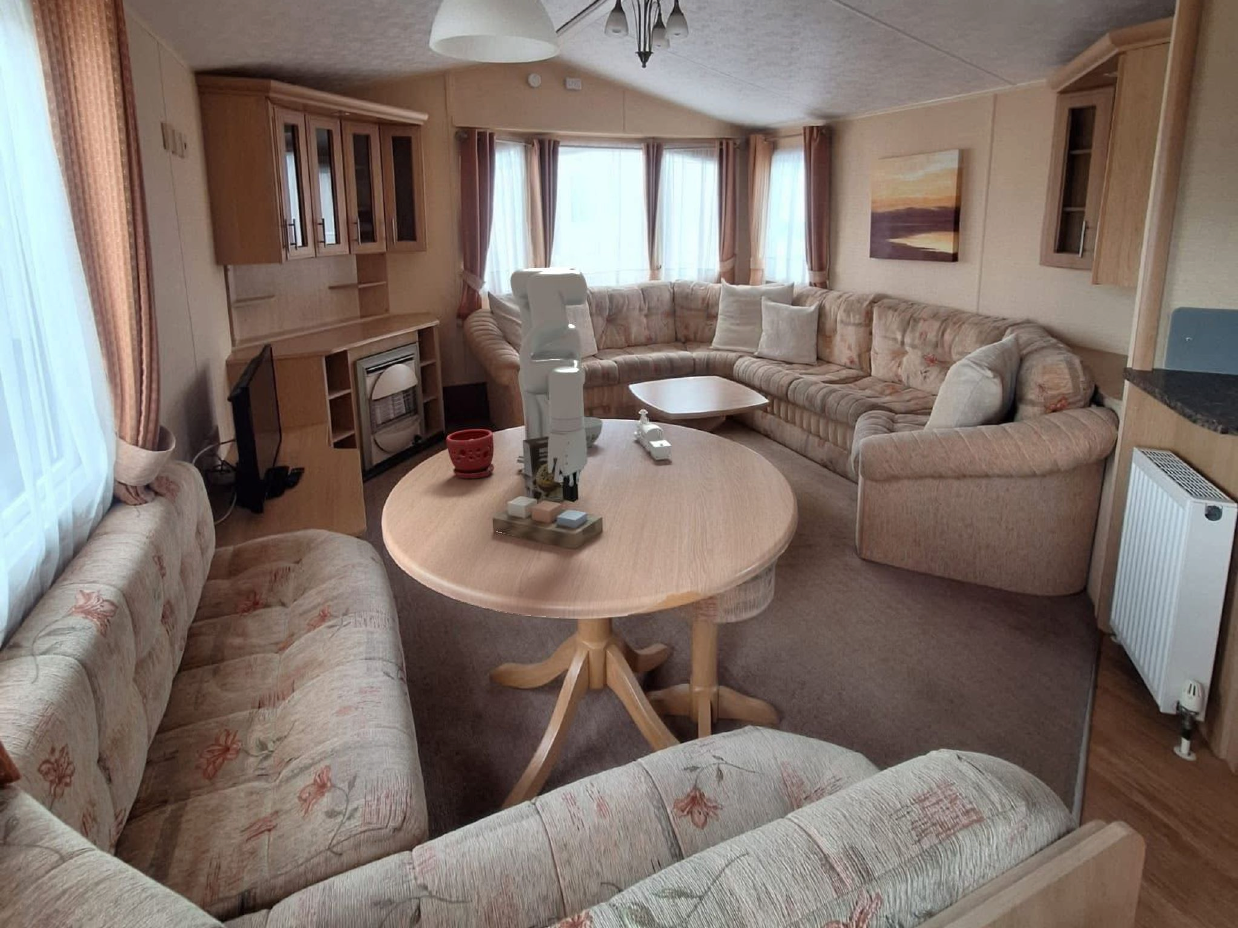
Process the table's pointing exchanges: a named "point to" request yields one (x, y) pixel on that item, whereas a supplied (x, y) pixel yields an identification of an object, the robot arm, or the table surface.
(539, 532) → the key panel
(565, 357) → the robot arm
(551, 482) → the coffee box
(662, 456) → the toy train
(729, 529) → the table surface
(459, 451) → the plant pot
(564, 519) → the key blue
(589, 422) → the teacup
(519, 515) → the key white
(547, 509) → the key terracotta
